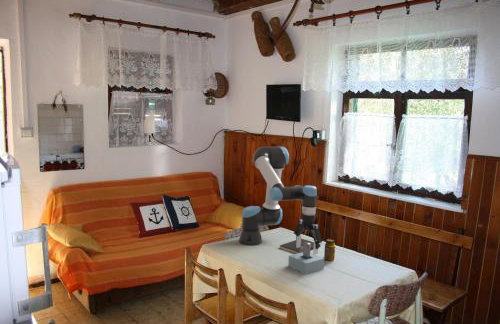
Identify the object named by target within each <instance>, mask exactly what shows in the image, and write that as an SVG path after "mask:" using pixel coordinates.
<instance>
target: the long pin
mask: <svg viewBox="0 0 500 324" xmlns="http://www.w3.org/2000/svg"><path fill="white" fill-rule="evenodd" d="M310 249H311V243H309V242H304V246H303V258H304V259H306V260H307V259H310V253H311V250H310Z"/></svg>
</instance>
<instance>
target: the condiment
mask: <svg viewBox="0 0 500 324" xmlns="http://www.w3.org/2000/svg"><path fill="white" fill-rule="evenodd" d="M335 242H336V241H335V240H334V239H333V238H327V239H326V240H325V244H324V252H323V253H324V256H323V258H324V263H326V264H328V263H331V262H336V261H338V259H336V258H335V254H336V244H335Z"/></svg>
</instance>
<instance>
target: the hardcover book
mask: <svg viewBox="0 0 500 324" xmlns="http://www.w3.org/2000/svg"><path fill="white" fill-rule="evenodd" d="M304 242H309V243H311V249H310V251H313V250H314V243H315V241H311V240H307V239H304V238H301V247H302V246H304ZM296 244H297V241H296V239H295V240H293V241H289V242H285V243H283V244H280V245H279V249H281V250H285V251H288V252H291V253H293V254H298V253H300V247H298V248H297V247H296ZM321 246H322V245H321V243H319V248H321Z"/></svg>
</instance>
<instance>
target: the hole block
mask: <svg viewBox="0 0 500 324" xmlns="http://www.w3.org/2000/svg"><path fill="white" fill-rule="evenodd" d="M287 264H288V267H290V268H292V269H294V270H296V271H299V272H301V273H302V274H305V275H307V274H310V273H311V274H312V273H315V272H317V271H318V272H319V271H321V270H324V268H325V262H324V257H321V256H319V255H318V254H316V255H313V253H312V252H310V259H307V260H306V259H304V258H303V252H302V253H298V254H296V253H293V254H290V255H288V263H287Z"/></svg>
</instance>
